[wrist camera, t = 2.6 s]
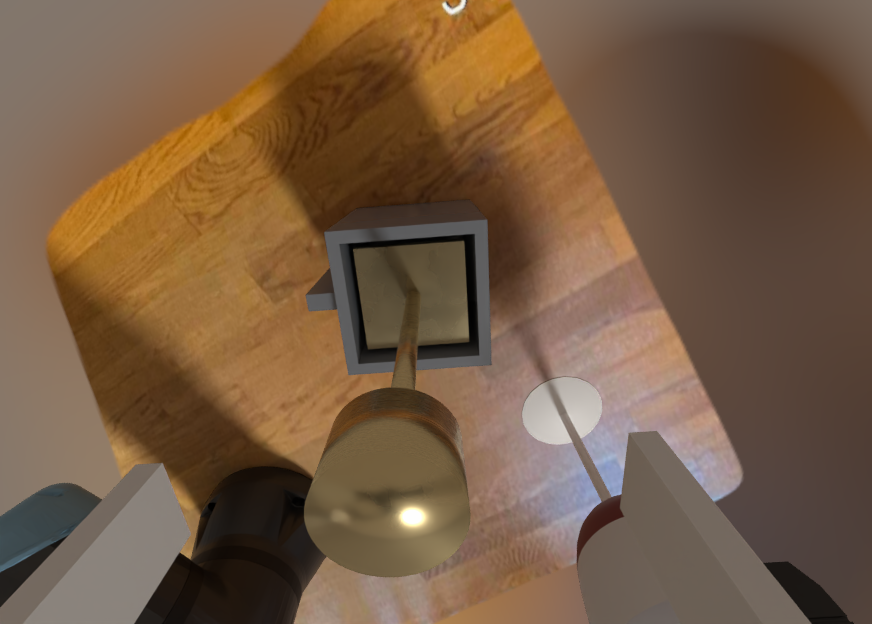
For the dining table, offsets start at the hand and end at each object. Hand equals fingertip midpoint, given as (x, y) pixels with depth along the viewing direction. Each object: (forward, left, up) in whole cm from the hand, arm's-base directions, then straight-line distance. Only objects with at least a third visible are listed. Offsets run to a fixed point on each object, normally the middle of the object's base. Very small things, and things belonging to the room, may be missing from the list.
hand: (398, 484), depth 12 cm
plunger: (0, 0, -18) cm, 18 cm away
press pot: (-1, 0, -28) cm, 28 cm away
